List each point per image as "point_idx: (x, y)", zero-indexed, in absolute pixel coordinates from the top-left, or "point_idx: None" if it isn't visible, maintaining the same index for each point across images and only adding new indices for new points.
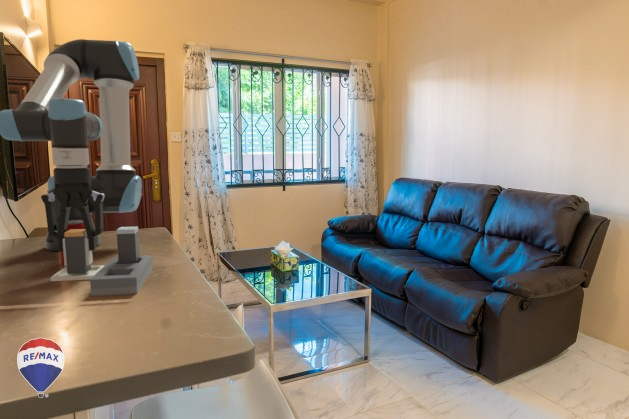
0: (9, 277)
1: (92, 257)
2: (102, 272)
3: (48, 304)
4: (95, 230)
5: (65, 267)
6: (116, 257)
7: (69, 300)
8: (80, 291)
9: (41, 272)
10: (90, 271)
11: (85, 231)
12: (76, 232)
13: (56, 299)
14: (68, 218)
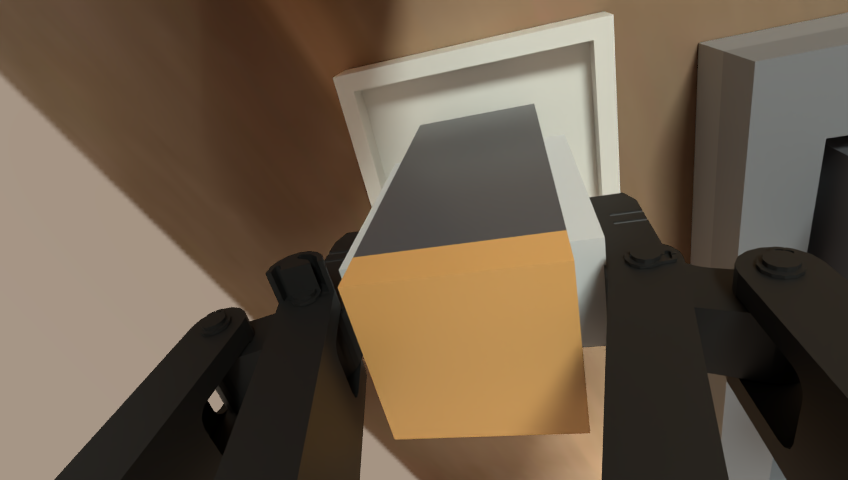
0: (115, 168)
1: (568, 145)
2: (749, 446)
3: (544, 476)
4: (743, 402)
5: (345, 92)
6: (780, 97)
7: (602, 454)
8: (602, 375)
9: (190, 62)
10: (527, 95)
11: (582, 352)
12: (518, 432)
13: (546, 442)
14: (305, 472)
